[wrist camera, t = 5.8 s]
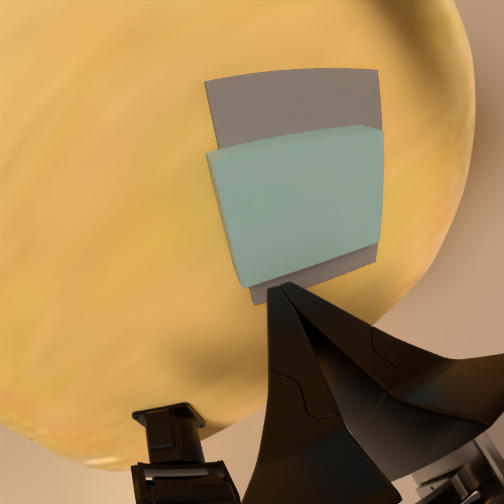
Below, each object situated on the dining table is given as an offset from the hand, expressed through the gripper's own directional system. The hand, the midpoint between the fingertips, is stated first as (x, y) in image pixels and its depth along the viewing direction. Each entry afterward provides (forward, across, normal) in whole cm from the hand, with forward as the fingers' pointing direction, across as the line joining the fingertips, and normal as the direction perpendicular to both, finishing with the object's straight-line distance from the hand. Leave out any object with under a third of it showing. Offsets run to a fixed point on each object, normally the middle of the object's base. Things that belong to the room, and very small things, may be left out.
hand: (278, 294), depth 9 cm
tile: (+6, +1, 0) cm, 6 cm away
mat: (+7, -5, 0) cm, 9 cm away
